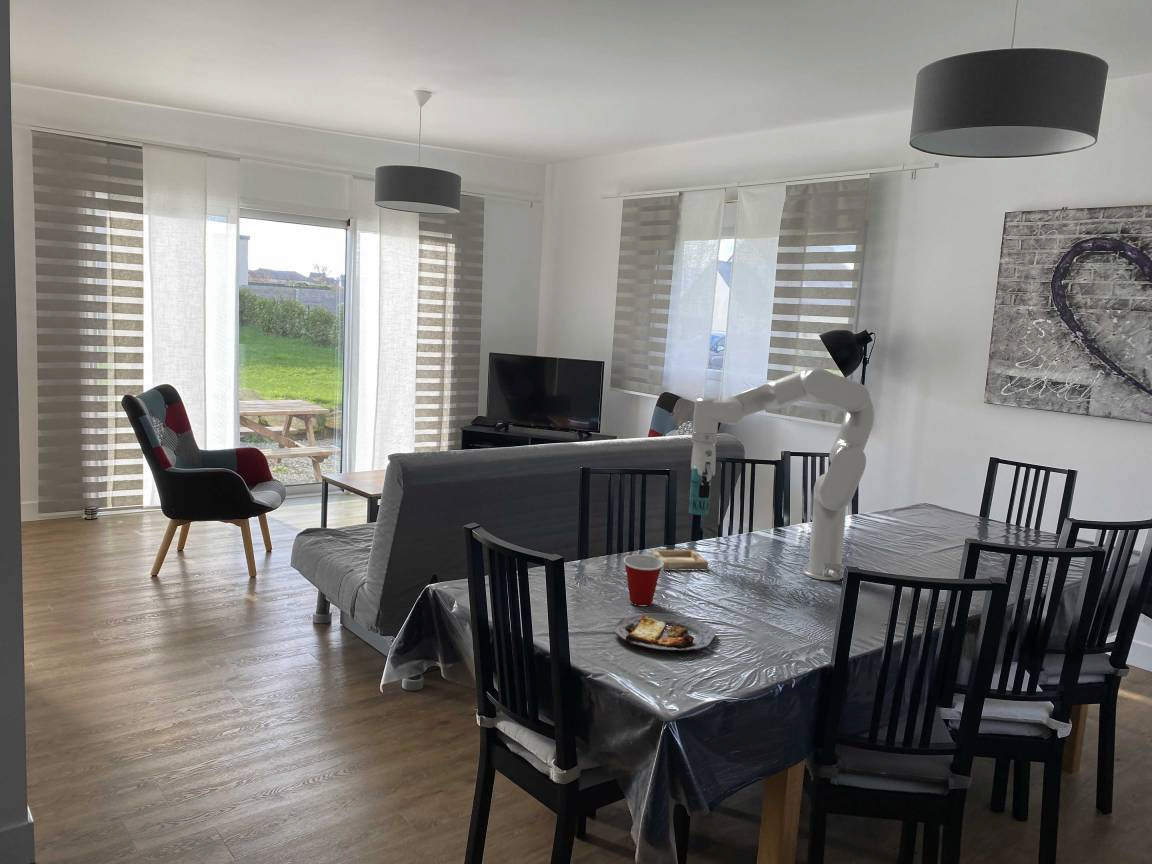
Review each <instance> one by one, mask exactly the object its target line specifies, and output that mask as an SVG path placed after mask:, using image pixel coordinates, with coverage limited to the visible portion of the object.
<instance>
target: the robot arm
mask: <svg viewBox="0 0 1152 864" xmlns="http://www.w3.org/2000/svg"><path fill="white" fill-rule="evenodd" d="M812 397H813V398H816V399H818V400H820V401H823V402H825V403H828V404H830V405H832V406H835V407H837V408H841V409H843V420H842V424H841V426H840V429H839V432H838V434H837V435H836V439H835V441H834V443H833V445H832V448H831V449H830V452H829V455H828V457H829V462H830V465H829V467H828V470H827V471H826V473H823V474H820V476H819V477H818V478H817V479H816V480H815V483H814V486H813V495H812V496H813V507H812V521H811V530H810V541H809V544H810V546H809V554H808V555H809V557H808V565H807V566H804V567H803V568H802V573H803V574H804V575H805V576H807V577H808V578H812V579H814V580H815V579H816V580H820V581H821V580H822V581H842V580H843V579H842V578H843V570H842V556H843V547H844V546H843V545H844V536H845V535H844V534H845V525H846V513H847V512H846V508H847V507H848V506H849V505H850V504H851V502H852V500H853V498H854V496H855V494H856V492H857V488H858V486H859V484H860V482H861V479H862V477H863V475H864V472H865V469H866V467H867V457H866V453H865V452H864V450H865V448H866V445H867V443H868V440H869V438H870V437H869V436H870V435H871V431H872V430H873V426H874V420H875V410H874V406H873V405H874V404H873V402H872V399H871V395H870V391H869V389H868V388H867V387H866V386H865V385H864V384H862V383H861V382H859V381H856V380H851V379H848V378H846V377H843V376H841V375H837V374H835V373H833V372H831V371H828V370H827V369H824V368H822V367H820V366H809V367H807V368H805V369H802V370H800V371H799V370H798V371H796V372H793V373H791V374H788V375H785V376H782V377H781V378H778V379H775V380H772V381H769V382H767V383H763V384H761V385H759V386H757V387H753V388H750V389H748V390H745V391H743V392H739V393H736V394H734V395H731V396H728V397H726V398H724V399H723V400H718V398H714V397H708V396H707V397H706V396H705V397H704V396H703V397H697V398H696V399H695V400H694V410H693V420H692V421H693V422H692V423H693V424H692V433H691V443H693V445H692V452H691V461H690V469H691V470H692V467H693V466H696V467H697V470H698V475H700V481H701V485H699V498H709V491H710V492H711V488H710V481H711V482H712V477H714V476H715V474H716V462H717V461H716V460H717V457H716V455H717V454H716V453H717V451H716V444H717V440H718V428H719V427H718V426H719V423H721V424H726V425H734V426H735V425H737V424H739V423H741V422H742V421H743V419H744V418H745V417H747V416H750V415H752V414H755V413H758V412H763V411H767V410H778V409H782V408H783V409H784V408H785V407H788V406H790V405H794V404H795V403H798V402H801V401H804V400H808V399H810V398H812ZM703 473H706V474H707V475H703ZM703 477H706V478H704V480H703ZM840 579H841V580H840Z"/></svg>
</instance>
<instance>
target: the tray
mask: <svg viewBox="0 0 1152 864" xmlns="http://www.w3.org/2000/svg"><path fill="white" fill-rule="evenodd" d="M650 551H651V553H650V554H651V555H652V556H653V557H656V558H659V559H660V560H662V561H663V563H664V565H663V566H662V567H663V568H664V569H708V568H709V562H708V561H707V560H706V559H705V558H704V557H703V556H702V555H700V554H699V553H698V552H697V551H695V550H694V549H652V550H650ZM651 555H650V556H651ZM708 570H709V569H708Z"/></svg>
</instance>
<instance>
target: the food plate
mask: <svg viewBox="0 0 1152 864" xmlns="http://www.w3.org/2000/svg"><path fill="white" fill-rule="evenodd" d="M666 625H668V626H666ZM670 626H672V627H670ZM666 627H669V629H667V628H666ZM664 629H666V630H667V631H669V632H668V633H667V632H666V630H665V631H664ZM664 632H665V633H666V634H667V635H666V634H664ZM688 632H689V633H692V632H693V633H692V635H691V634H689V633H688ZM613 633H614V634H615V635H616V636H617V637H618V638H620V639H621V640H623V641H624V642H626V643H629V644H631V645H636V646H640V647H644V648H649V649H652V650H655V651H658V650H659V651H667V652H672V651H673V652H674V651H676V652H677V651H678V652H679V651H681V652H688V651H693V652H695V651H698V650H699V649H705V648H707V647H708V646H709V645H710V644H711V642H712V641H713V639H715V636H716V635H717V634H718V632H717V629H715V628H713V627H712V626H710V625H708V624H706V623H705V622H704V621H700V620H697V619H696V618H691V617H690V616H688V617H687V616H684V615H678V614H671V613H656V612H655V613H653V612H652V613H649V612H648V613H637V614H633V615H630V616H627V617H625V616H624V617H623V618H621V620H620V621H619V622H618V623H617V624H616V625H615V626H614V627H613Z"/></svg>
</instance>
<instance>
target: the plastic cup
mask: <svg viewBox="0 0 1152 864" xmlns="http://www.w3.org/2000/svg"><path fill="white" fill-rule="evenodd" d="M623 564H624V566H625V567H624V568H625V571H626V579H627V587H628V588H627V589H628V595H629V602H630V601H631V602H632V603H633V604H636V605H649V606H651V605H652V604H651V603H653V602H654V596H655V592H656V589H657V584H658V580H659V575H660V572H661V571H662V566H663V565H664V563H663V561H662V560H660V559H659V558H656V557H653V556H651V555H648V554H647V555H646V554H632V555H628V556H625V557H624V558H623ZM631 602H630V603H631ZM633 604H632V605H633ZM650 604H651V605H650Z"/></svg>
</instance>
